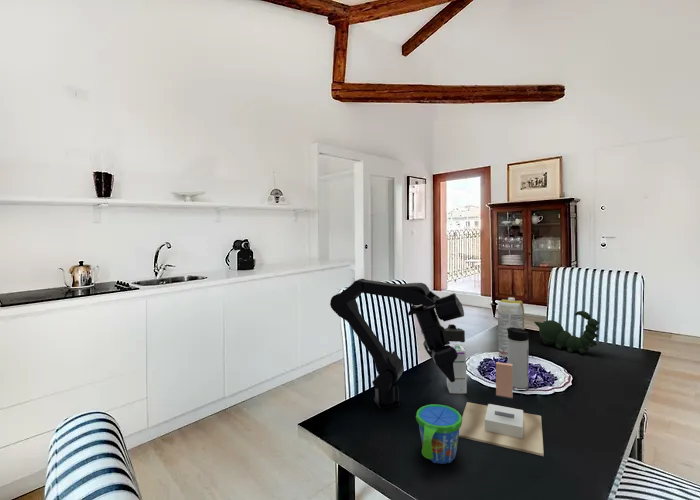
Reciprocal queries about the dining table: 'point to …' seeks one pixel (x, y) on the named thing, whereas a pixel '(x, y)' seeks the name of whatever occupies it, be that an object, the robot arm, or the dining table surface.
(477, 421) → the base board
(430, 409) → the snack cup
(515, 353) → the travel mug
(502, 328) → the juice carton
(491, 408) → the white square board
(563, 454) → the dining table surface
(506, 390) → the salmon pink flat block
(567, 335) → the toy figurine
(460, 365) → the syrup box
